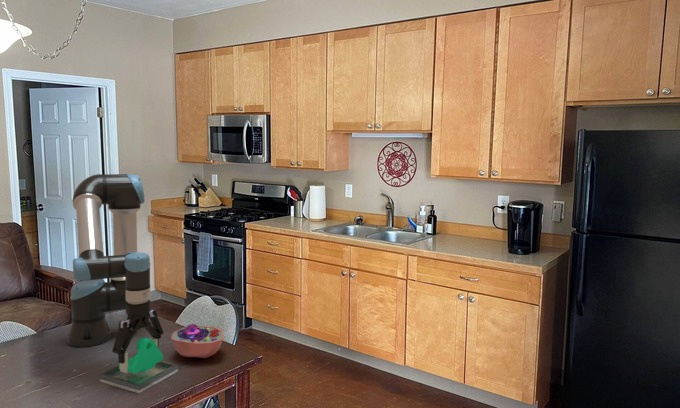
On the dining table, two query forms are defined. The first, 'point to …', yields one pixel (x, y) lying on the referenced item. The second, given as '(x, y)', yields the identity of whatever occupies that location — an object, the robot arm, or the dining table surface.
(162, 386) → the dining table surface
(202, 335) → the cell model
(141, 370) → the camera mount
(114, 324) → the dining table surface
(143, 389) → the plate
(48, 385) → the dining table surface
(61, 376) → the dining table surface
